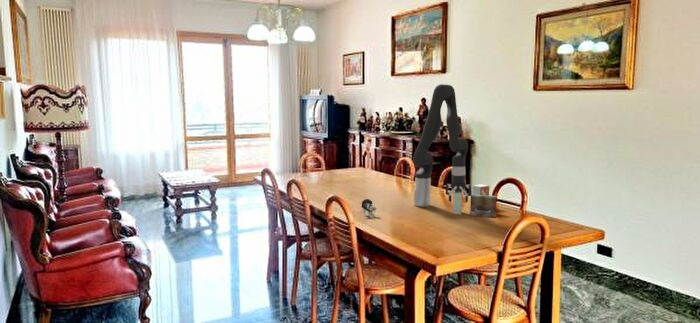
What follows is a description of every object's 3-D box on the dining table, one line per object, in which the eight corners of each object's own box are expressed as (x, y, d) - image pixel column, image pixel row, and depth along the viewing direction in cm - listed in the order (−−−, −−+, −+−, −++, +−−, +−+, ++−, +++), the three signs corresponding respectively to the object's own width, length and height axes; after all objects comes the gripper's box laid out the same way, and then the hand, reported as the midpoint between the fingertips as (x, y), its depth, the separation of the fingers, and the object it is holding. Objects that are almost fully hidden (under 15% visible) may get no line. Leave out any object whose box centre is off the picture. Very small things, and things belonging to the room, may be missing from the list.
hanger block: (452, 213, 269) (453, 193, 267) (453, 211, 275) (454, 191, 273) (460, 214, 268) (461, 193, 266) (461, 211, 273) (462, 191, 272)
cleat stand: (469, 215, 264) (469, 198, 263) (470, 211, 274) (470, 194, 273) (495, 217, 260) (496, 200, 258) (495, 213, 270) (496, 196, 269)
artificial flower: (374, 211, 281) (379, 196, 279) (373, 225, 260) (378, 209, 257) (360, 207, 282) (364, 192, 279) (357, 221, 260) (362, 204, 257)
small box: (479, 208, 282) (480, 186, 280) (471, 206, 287) (472, 185, 285) (488, 206, 286) (489, 185, 284) (480, 204, 291) (481, 184, 290)
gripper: (445, 174, 267) (444, 203, 269) (471, 175, 263) (470, 204, 264) (446, 172, 274) (446, 200, 276) (471, 173, 270) (471, 201, 272)
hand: (458, 202), depth 270 cm, fingers open, 8 cm apart
